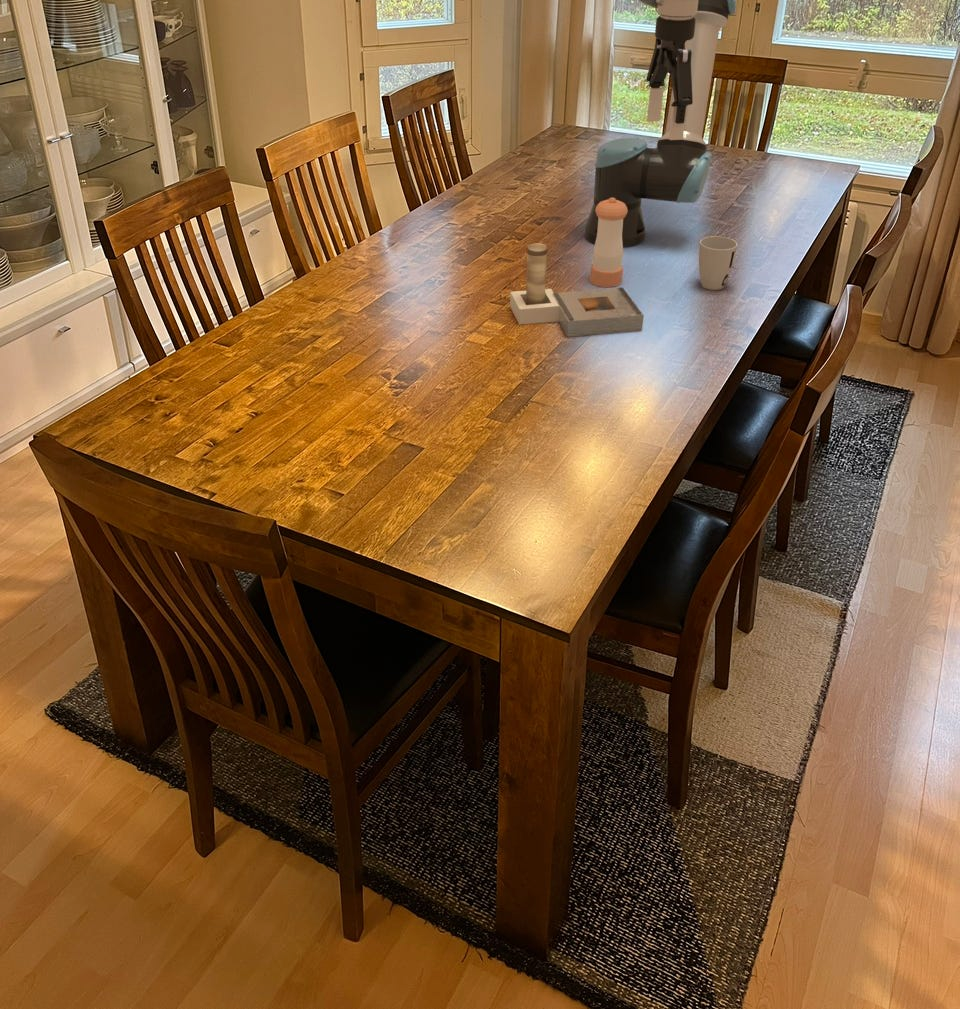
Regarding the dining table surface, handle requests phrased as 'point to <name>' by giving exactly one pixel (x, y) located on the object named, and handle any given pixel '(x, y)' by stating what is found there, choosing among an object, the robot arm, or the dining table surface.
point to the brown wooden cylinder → (536, 273)
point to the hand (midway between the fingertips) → (664, 130)
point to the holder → (534, 308)
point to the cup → (716, 261)
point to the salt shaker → (608, 244)
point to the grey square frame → (598, 312)
